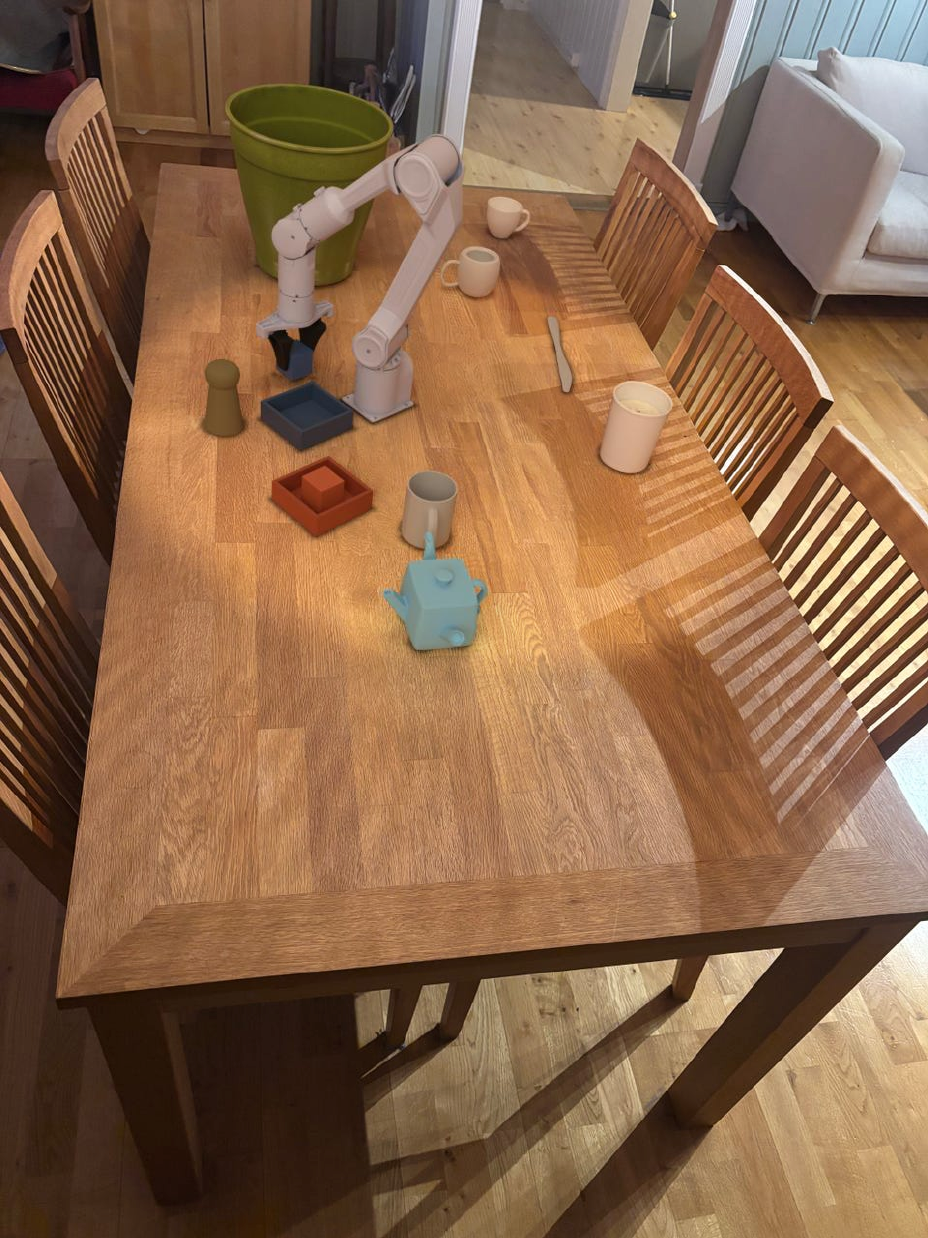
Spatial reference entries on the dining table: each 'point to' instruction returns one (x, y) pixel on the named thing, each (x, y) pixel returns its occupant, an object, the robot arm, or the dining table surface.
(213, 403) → the pepper mill
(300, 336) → the robot arm
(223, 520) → the dining table surface
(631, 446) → the candle holder
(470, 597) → the teapot
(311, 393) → the blue bin
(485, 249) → the mug
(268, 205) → the plant pot
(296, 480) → the terracotta bin
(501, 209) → the cup
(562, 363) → the butter knife
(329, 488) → the terracotta block
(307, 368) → the blue block
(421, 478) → the cup
